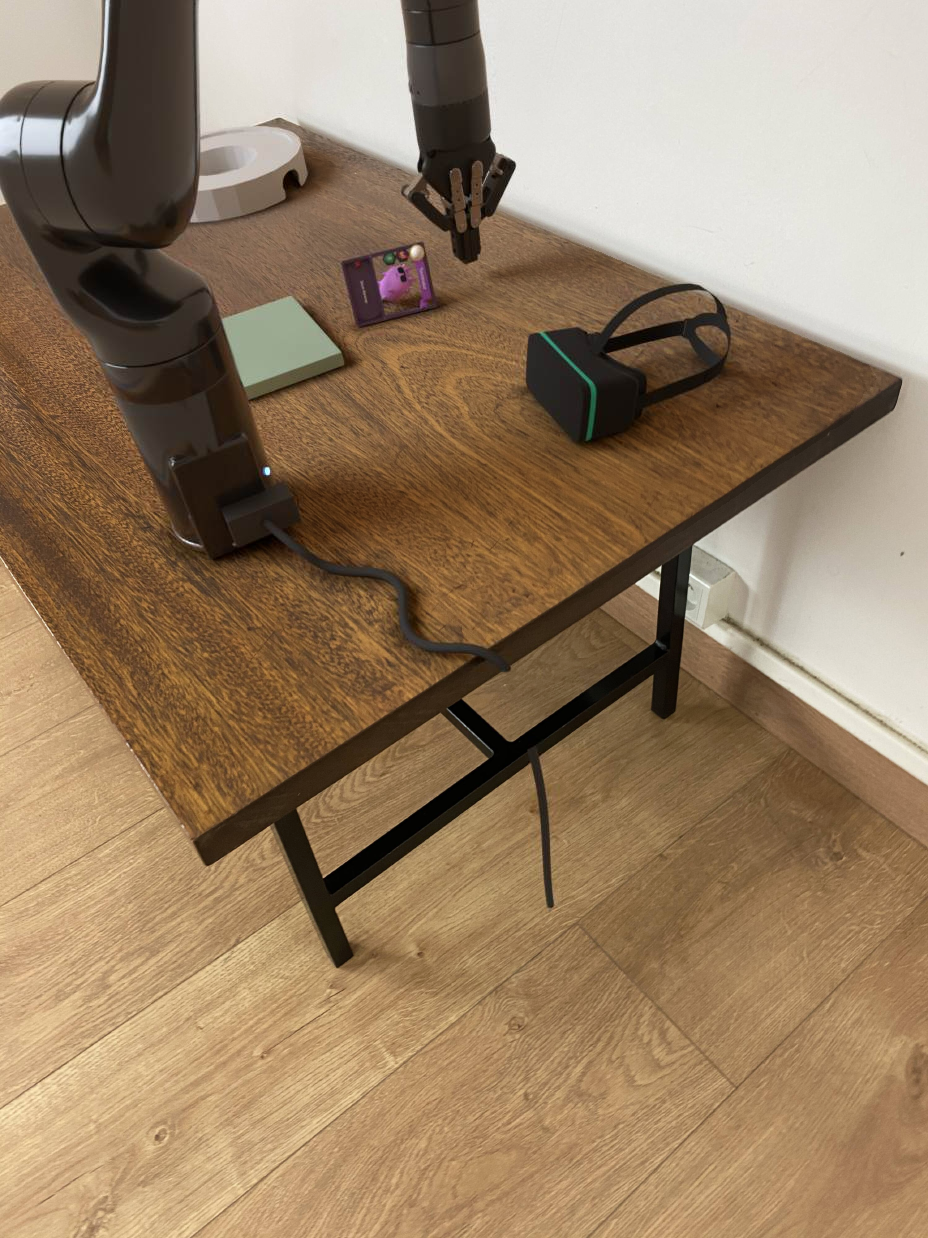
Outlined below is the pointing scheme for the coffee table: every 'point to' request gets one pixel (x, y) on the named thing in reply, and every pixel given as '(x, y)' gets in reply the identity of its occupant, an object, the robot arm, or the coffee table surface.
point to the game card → (386, 283)
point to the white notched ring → (245, 170)
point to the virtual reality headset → (611, 369)
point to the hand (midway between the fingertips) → (468, 259)
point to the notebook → (279, 346)
